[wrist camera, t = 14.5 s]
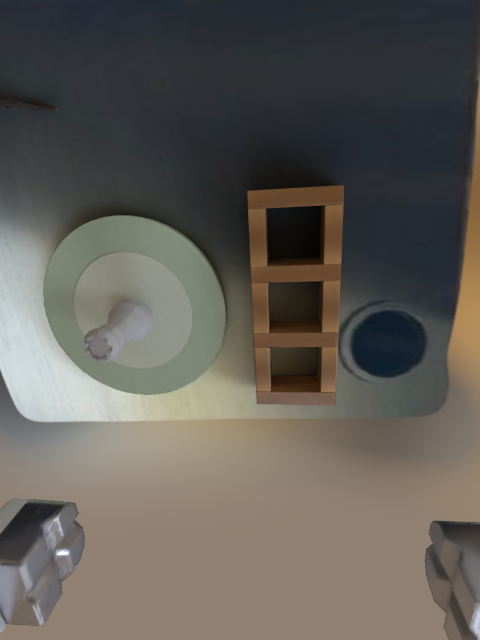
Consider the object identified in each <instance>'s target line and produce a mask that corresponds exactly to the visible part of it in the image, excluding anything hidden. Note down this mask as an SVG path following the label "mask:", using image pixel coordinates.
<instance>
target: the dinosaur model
mask: <svg viewBox="0 0 480 640" xmlns="http://www.w3.org/2000/svg"><path fill="white" fill-rule="evenodd" d="M0 106H14V107H19V108H21V107H26V108H33V109H37V110H40V109H48V110H54V111H55V110H56V112H57V110H58V109H57V108H55V106H52V105H46V104H45V105H44V104H39V103H33V102H32V103H31V102H25V101H21V100H15V99H8V98H4V97H0Z"/></svg>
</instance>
